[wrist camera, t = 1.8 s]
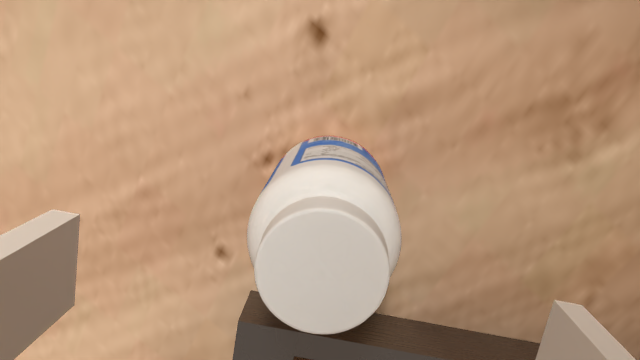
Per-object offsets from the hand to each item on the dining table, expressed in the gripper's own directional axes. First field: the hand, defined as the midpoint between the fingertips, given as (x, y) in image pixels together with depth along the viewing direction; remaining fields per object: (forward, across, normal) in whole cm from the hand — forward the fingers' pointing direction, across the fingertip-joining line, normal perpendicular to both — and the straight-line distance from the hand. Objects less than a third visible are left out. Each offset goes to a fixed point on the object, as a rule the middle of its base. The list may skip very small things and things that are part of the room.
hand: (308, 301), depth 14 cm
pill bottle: (+11, 0, 0) cm, 11 cm away
